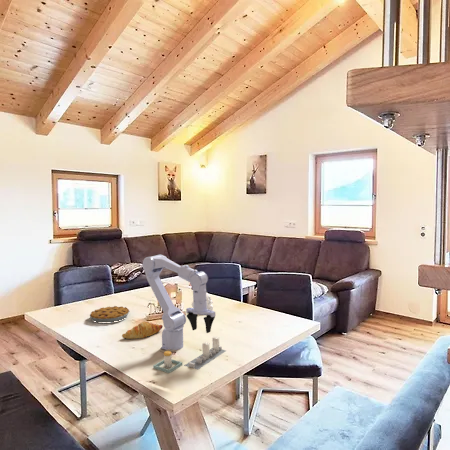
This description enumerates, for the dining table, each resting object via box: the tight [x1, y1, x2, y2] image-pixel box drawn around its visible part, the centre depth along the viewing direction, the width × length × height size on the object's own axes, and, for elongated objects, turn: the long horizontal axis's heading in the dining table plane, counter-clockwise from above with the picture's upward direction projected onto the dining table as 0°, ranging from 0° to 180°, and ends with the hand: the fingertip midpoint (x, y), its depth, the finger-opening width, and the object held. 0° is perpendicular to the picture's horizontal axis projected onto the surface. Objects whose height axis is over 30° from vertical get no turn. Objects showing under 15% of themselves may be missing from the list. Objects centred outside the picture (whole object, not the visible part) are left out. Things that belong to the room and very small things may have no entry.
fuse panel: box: [184, 345, 227, 370], centre depth 153 cm, size 7×21×2 cm, turn 148°
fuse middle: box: [202, 341, 211, 359], centre depth 153 cm, size 3×3×6 cm
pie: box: [89, 305, 130, 323], centre depth 210 cm, size 22×22×5 cm
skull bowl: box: [191, 292, 214, 311], centre depth 222 cm, size 10×14×12 cm
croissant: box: [121, 321, 164, 340], centre depth 183 cm, size 21×10×8 cm, turn 125°
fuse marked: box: [163, 350, 173, 369], centre depth 146 cm, size 3×3×6 cm
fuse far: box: [211, 336, 220, 353], centre depth 159 cm, size 3×3×6 cm
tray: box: [152, 358, 183, 374], centre depth 146 cm, size 8×8×2 cm
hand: (201, 330), depth 158 cm, fingers open, 7 cm apart
